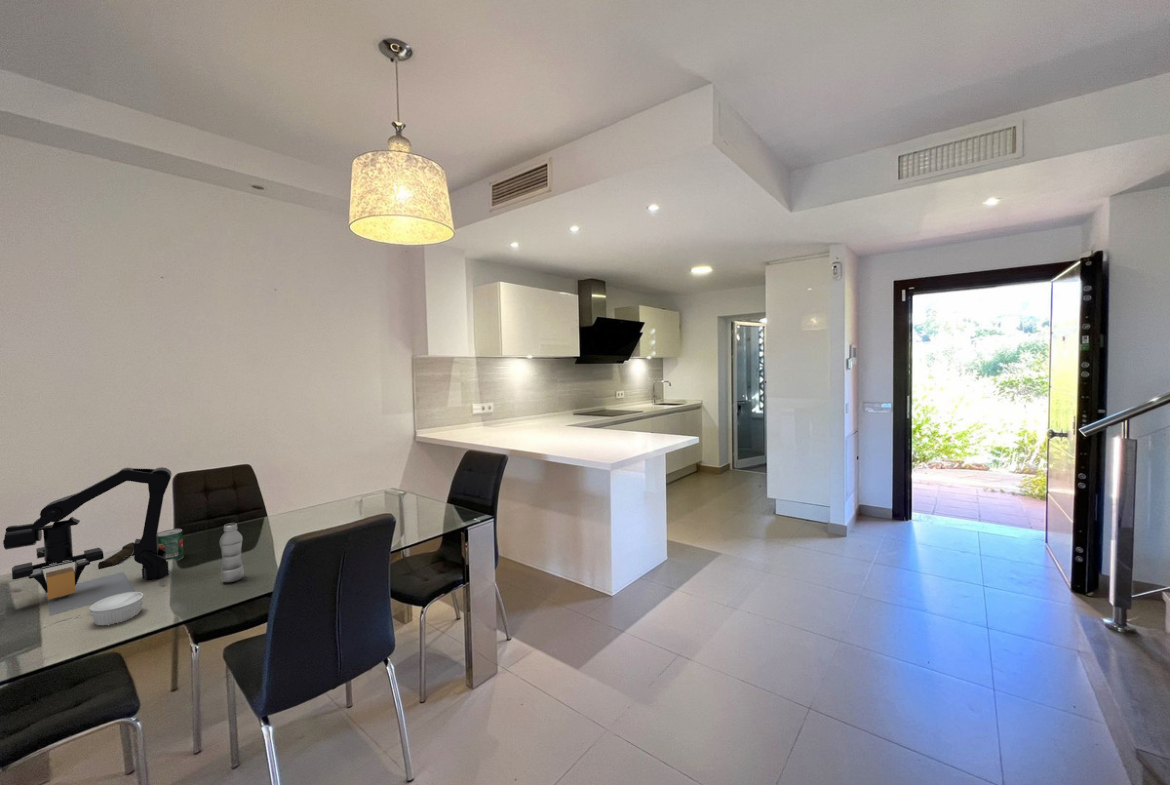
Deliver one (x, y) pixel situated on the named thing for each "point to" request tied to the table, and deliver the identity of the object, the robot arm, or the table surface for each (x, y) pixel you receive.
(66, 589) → the orange cardboard-tone cube
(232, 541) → the plastic bottle
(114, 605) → the ramekin
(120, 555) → the hand tool
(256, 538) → the table surface
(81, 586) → the flat grey board
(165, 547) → the canned tomato
